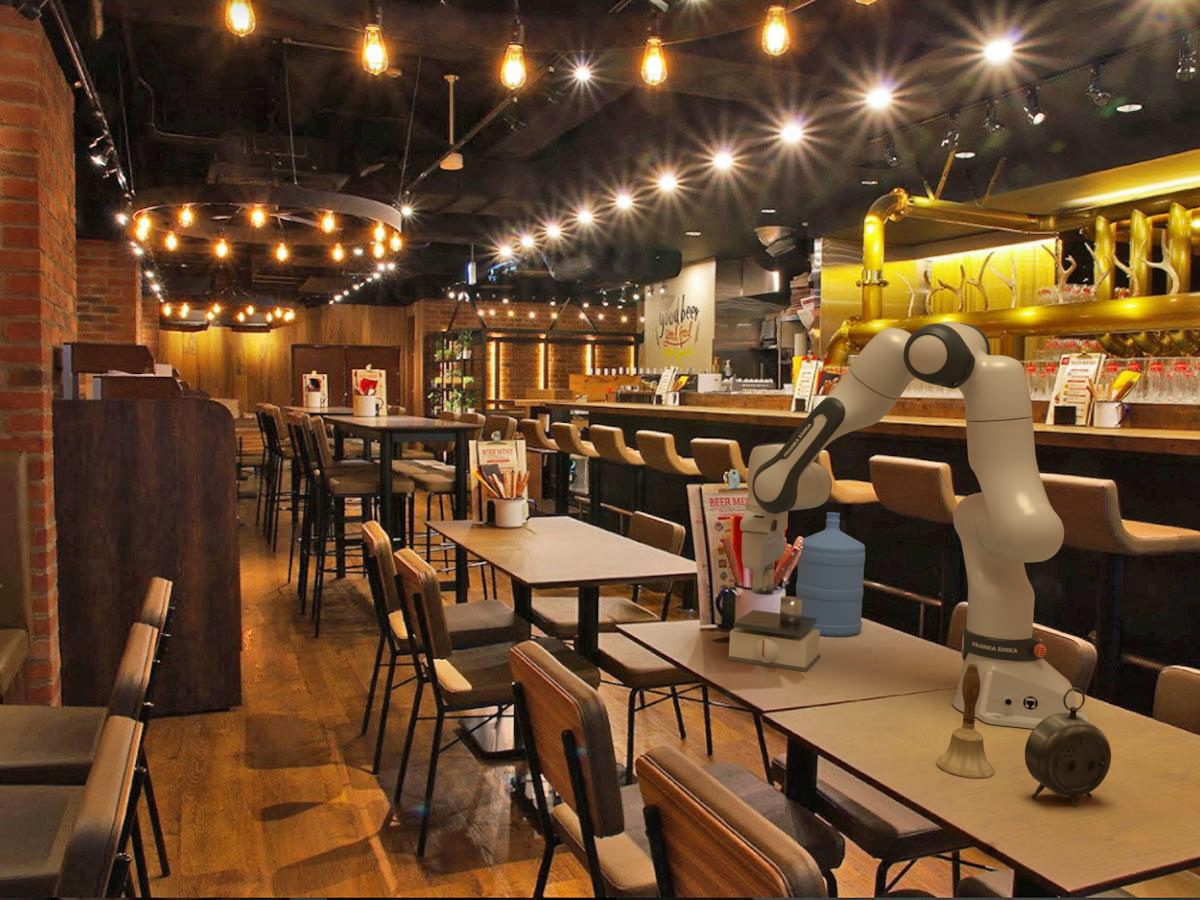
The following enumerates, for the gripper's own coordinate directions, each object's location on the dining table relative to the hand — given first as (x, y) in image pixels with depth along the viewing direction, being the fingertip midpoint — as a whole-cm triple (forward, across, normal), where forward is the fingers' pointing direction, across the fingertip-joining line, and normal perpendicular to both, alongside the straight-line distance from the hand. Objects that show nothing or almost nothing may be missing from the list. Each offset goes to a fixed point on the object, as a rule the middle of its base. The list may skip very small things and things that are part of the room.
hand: (762, 584), depth 210 cm
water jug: (+15, -33, +7) cm, 37 cm away
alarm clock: (+15, +51, +59) cm, 80 cm away
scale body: (+15, 0, +3) cm, 16 cm away
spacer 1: (+7, 0, +6) cm, 10 cm away
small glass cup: (+2, 0, 0) cm, 2 cm away
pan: (+9, 0, +3) cm, 10 cm away
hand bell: (+16, +45, +45) cm, 65 cm away
